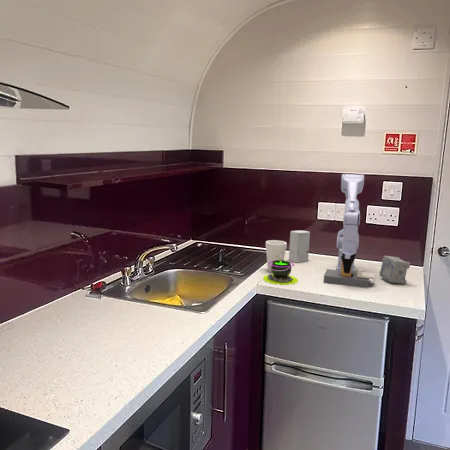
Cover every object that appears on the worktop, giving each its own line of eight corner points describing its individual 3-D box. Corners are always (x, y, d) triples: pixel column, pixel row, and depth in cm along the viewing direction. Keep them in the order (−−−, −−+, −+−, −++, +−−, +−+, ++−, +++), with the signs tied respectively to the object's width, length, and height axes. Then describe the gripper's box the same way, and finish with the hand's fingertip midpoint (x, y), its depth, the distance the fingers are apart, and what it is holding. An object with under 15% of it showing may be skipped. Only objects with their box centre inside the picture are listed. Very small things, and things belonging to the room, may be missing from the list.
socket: (326, 275, 207) (327, 268, 207) (368, 280, 202) (369, 273, 201) (323, 282, 197) (323, 275, 196) (368, 287, 191) (368, 280, 191)
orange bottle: (341, 276, 202) (342, 258, 200) (350, 277, 200) (352, 259, 199) (340, 278, 198) (341, 260, 196) (350, 279, 197) (351, 261, 195)
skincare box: (296, 263, 226) (298, 233, 224) (288, 260, 231) (289, 230, 229) (308, 260, 231) (310, 231, 229) (300, 258, 236) (302, 229, 233)
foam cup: (271, 266, 219) (272, 239, 217) (288, 270, 214) (290, 242, 212) (260, 270, 212) (261, 242, 209) (278, 274, 206) (280, 245, 204)
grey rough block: (408, 284, 198) (411, 260, 196) (390, 285, 196) (393, 261, 194) (395, 277, 207) (398, 254, 206) (378, 278, 206) (380, 255, 204)
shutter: (357, 273, 200) (358, 266, 200) (374, 274, 198) (374, 268, 198) (357, 277, 194) (357, 270, 194) (373, 279, 192) (374, 272, 192)
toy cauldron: (255, 278, 200) (256, 253, 198) (280, 272, 210) (281, 248, 208) (281, 287, 189) (282, 261, 187) (305, 281, 198) (307, 256, 196)
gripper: (341, 236, 204) (339, 266, 207) (338, 242, 190) (335, 274, 193) (358, 237, 202) (355, 268, 204) (356, 244, 188) (353, 276, 191)
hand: (347, 271), depth 198 cm, fingers closed on orange bottle, 4 cm apart
